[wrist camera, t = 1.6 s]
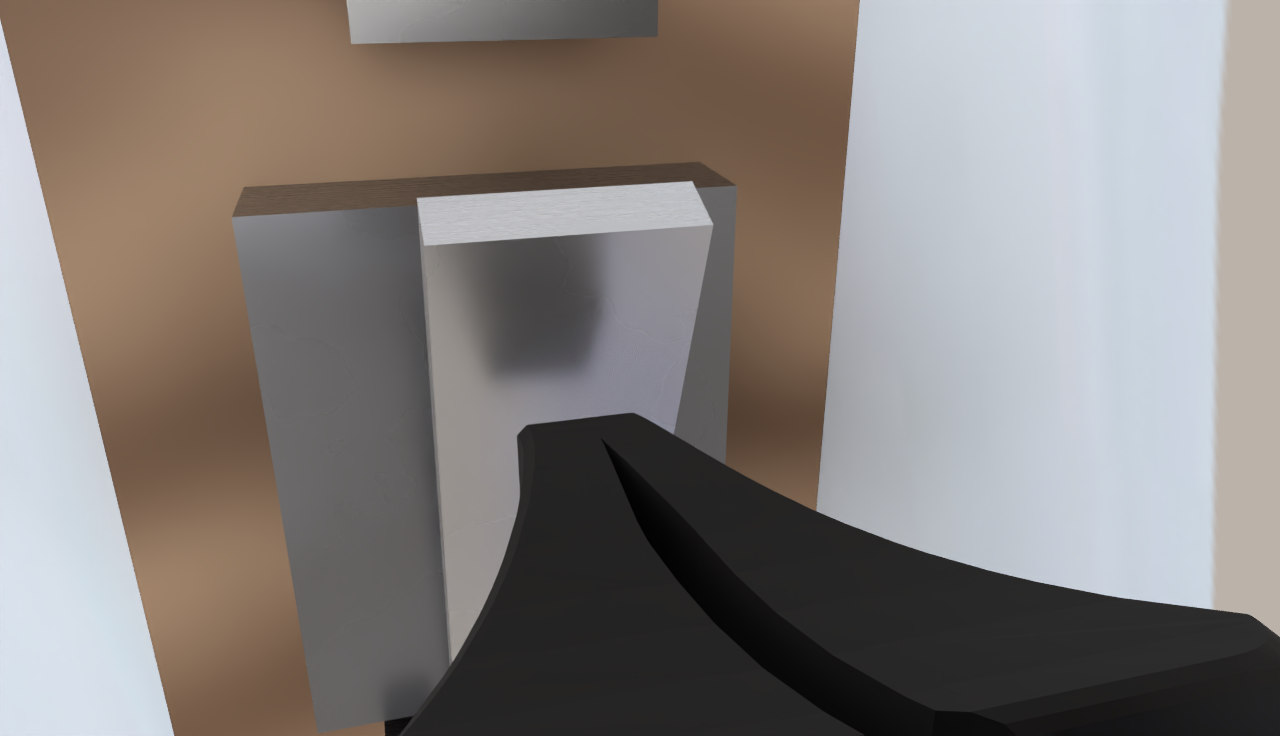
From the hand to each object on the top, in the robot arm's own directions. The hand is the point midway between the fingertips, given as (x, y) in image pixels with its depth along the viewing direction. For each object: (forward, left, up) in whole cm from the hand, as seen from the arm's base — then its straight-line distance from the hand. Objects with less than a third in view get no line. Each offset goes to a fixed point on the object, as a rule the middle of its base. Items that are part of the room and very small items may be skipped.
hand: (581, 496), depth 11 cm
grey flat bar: (-3, 0, -3) cm, 4 cm away
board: (-3, 0, -10) cm, 10 cm away
